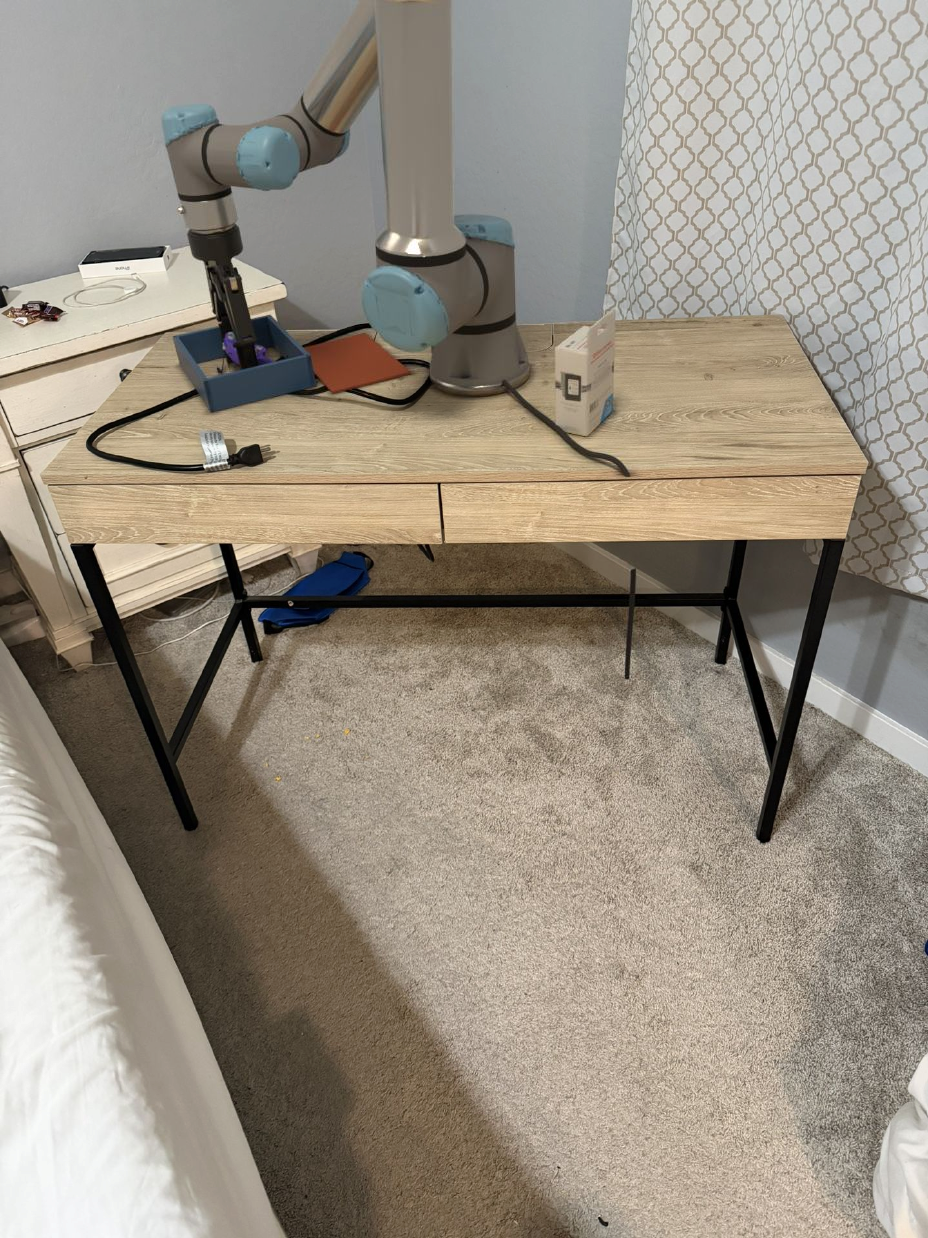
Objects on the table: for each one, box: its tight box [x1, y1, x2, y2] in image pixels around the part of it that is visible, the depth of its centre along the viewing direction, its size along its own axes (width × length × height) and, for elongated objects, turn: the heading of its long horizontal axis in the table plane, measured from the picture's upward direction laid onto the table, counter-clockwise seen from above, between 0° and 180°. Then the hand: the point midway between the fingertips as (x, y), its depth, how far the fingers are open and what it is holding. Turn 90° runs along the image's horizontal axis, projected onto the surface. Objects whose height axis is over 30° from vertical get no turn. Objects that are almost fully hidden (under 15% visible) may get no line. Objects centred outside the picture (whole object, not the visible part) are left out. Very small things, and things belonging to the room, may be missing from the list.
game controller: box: [216, 324, 282, 374], centre depth 146 cm, size 10×8×10 cm
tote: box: [171, 314, 317, 413], centre depth 146 cm, size 22×17×5 cm
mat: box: [303, 332, 412, 395], centre depth 148 cm, size 20×13×1 cm, turn 26°
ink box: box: [554, 308, 617, 437], centre depth 122 cm, size 9×5×15 cm, turn 148°
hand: (244, 372), depth 147 cm, fingers closed on game controller, 10 cm apart
